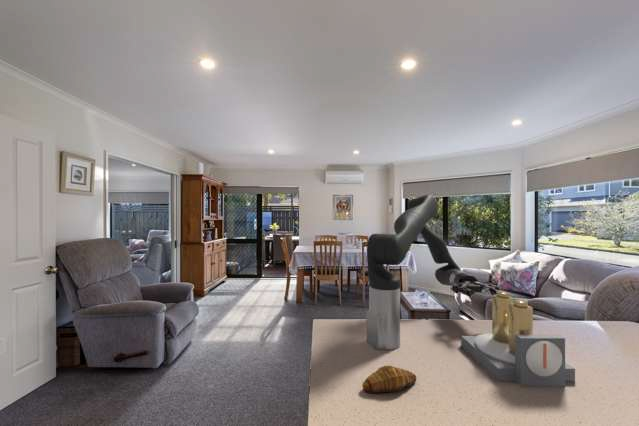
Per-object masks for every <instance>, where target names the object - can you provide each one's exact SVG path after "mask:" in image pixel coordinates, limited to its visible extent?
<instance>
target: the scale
mask: <svg viewBox="0 0 639 426" xmlns="http://www.w3.org/2000/svg"><path fill="white" fill-rule="evenodd" d="M460 347H462V348H463V349H464V350H465V351H466V352H467V353H468V354H469V355H470V356H471V357H472V358H473V359H474V360H475V361H476V362H477V363H479V364H480V365H481V366H482V367H483V369H485V370H486V372H488V373H489V374H490V375H491V376H492V377H493V378H495V380H497V382H516V383H517V384H518V385H519V386H520V387H562V388H563V387H566V382H576V368H575V367H573V366H572V365H570V364H568V363H567V362H566V338H565V337H564V336H562V335H559V334H533V335H519V334H515V356H513V355H512V354H510V353H509V344H505V343H500V342H497V341H495V340H494V339H493V338H492V333H491V332H489V333H482V334H481V333H480V334H479V335H461V336H460Z"/></svg>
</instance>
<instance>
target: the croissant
mask: <svg viewBox="0 0 639 426" xmlns="http://www.w3.org/2000/svg"><path fill="white" fill-rule="evenodd" d="M416 382H417V376H416V374H415V373H414V372H411V371H410V370H406V369H403V368H399V367H395V366H393V365H383V366H381V367H379V368H378V369H376V371H375V372H373V373H371V374H370V375H369V376H368V377H366V378H365V380H364V381H363V382H362V388H363V389H362V390H363V391H364V392H365V393H368V394H369V393H370V394H382V393H395V392H398V391H401V390H403V389H405V388H409V387H411V386H412V385H413V384H414V383H415V384H416Z"/></svg>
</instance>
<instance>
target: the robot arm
mask: <svg viewBox="0 0 639 426" xmlns="http://www.w3.org/2000/svg"><path fill="white" fill-rule="evenodd" d="M438 211H439V203H438V200H437V198H436V196H434V195H432V194H424V195H421V196H418V197H414V198H411V199H410V200H409V201H408V202H407V210H405V211H403V212H402V213H401V214H400V215H398V217H397V218H396V219H395V221H394V222H393V223H394V224H393V230H394V234H393V233H372V234H371V235H370V236H369V238H367V242H366V259H367V261H366V262H367V278H368V283H369V284H368V286H369V287H368V288H369V291H368V293H369V294H368V310H366V311H365V313H366V316H365V317H366V319H365V320H366V322H365V323H366V326H365V327H366V331H365V332H366V336H365V337H366V339H365V340H366V343H368V344H369V345H371V346H372V347H374V348H376V349H377V350H396V349H397V348H399V347H400V346H401V279H400V278H399V277H398V276H397V275H396V274H394V273H392V272H390V271H389V270H388V269H386V268H385V266H384V265H389V266H398V265H401V263H402V262H403V261H404V260H405V258H406V257H407V254H408V253H409V251H410V248H411V246H412V244H413V243H414V241H415V240H416V239H417V237H418V236H419V235H420V234H421V236H422V238H423V240H424V241H425V243H426V245H427V247H428V250H429V252H430V255H431V257H432V260H433V261H434V262H435V264H438V265H439V264H440V265H441V264H446V265H442V266H441V267H437V269H436V270H435V271H434V276H435V279H436V280H437V282H438V283H440V285H443V286H450V290H451V292H453V293H454V294H459V293H460V294H461V295H465V296H466V297H468V298H469V297H470V298H471V297H472V295H475V294H479V295H480V294H481V295H491V296H492V295H496V292H497V291H500V286H498V285H495V284H493V283H491V282H487V283H484V282H483V283H482V282H480V281H479V280H478V279H477V277H476V276H475V275H473V274H470V273H468V272H465V271H463V270H462V269H461V268H460V266H458V264H457V262H455V260H454V259H453V258H452V256H451V254H450V251H449V248H448V247H447V244H446V242H445V240H444V239H443V237H442V236H440V235H439V234H437V232H435V231H434V230H433V229H432V228H431V227H429V226H428V225H427V224H428V222H430V221H431V220H432V219H433V218H434V217H435V216H436V215H437V214H438Z"/></svg>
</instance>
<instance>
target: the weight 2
mask: <svg viewBox="0 0 639 426" xmlns="http://www.w3.org/2000/svg"><path fill="white" fill-rule="evenodd" d="M533 311H534V307H533V306H530V305H529V303H528V302H527V301H525V300H523V299H522V300H521V299H513V303H511V304H509V353H510V354H512V355H513V356H515V334H519V335H534V331H533V330H534V329H533V328H534V314H533V313H534V312H533Z"/></svg>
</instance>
